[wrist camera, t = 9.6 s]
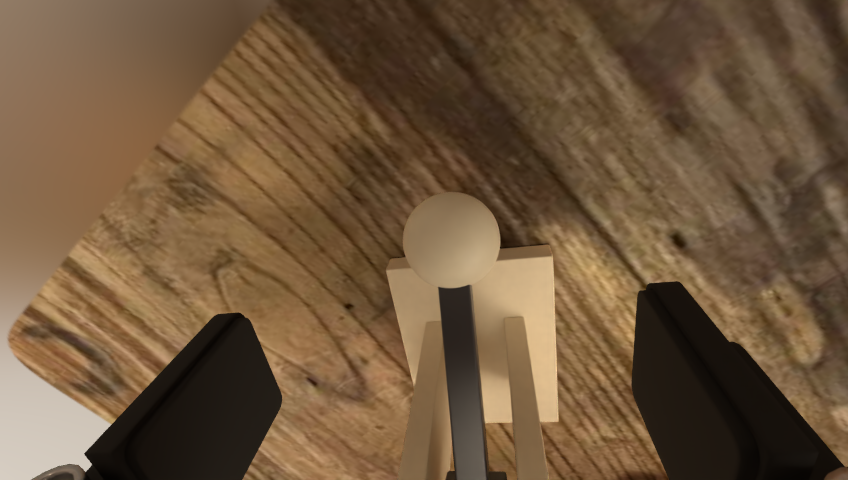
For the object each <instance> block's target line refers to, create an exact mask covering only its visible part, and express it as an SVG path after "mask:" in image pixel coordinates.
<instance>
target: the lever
mask: <svg viewBox="0 0 848 480" xmlns="http://www.w3.org/2000/svg"><path fill="white" fill-rule="evenodd" d="M403 248H404V253H405V257H406V259H407V261H408V263H409V265H410V267H411V268H412V269H413V271H414V272H415V273H416V274H417V275H418V276H419V277H420V278H421V279H422V280H424V281H425V282H427V283H429V284H431V285H433V286H435V287H438V292H439V303H440V314H441V325H442V336H443V347H444V358H445V369H446V380H447V391H448V402H449V413H450V424H451V435H452V446H453V457H454V468H455V471H448V472H447V475H446V480H507V476H506V473H505V472H495V471H489V461H488V451H487V440H486V429H485V418H484V408H483V397H482V386H481V376H480V365H479V354H478V344H477V333H476V322H475V312H474V301H473V290H472V284H474V283H476V282H478V281H479V280H481V279H482V278H483V277H485V275H486V274H487V273H488V272H489V271H490V270H491V268H492V267H493V265H494V264H495V262H496V259H497V257H498V254H499V250H500V232H499V227H498V224H497V222H496V219H495V217H494V216H493V214H492V213H491V211H490V210H489V209H488V208H487V207H486V206H485V205H484V204H483V203H482V202H480V201H479V200H478V199H476V198H474V197H472V196H470V195H467V194H464V193H459V192H444V193H439V194H436V195H433V196H431V197H429V198H427V199H426V200H424V201H423V202H421V203H420V204H419V205H418V206H417V207H416V208H415V209H414V210H413V211H412V213H411V214H410V216H409V218H408V220H407V222H406V225H405V228H404V232H403Z"/></svg>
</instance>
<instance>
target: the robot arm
mask: <svg viewBox="0 0 848 480" xmlns="http://www.w3.org/2000/svg"><path fill="white" fill-rule="evenodd" d="M632 391H633V395H634V399H635V401H636V404H637V406H638V408H639V411H640V413H641V415H642V418H643V420H644V422H645V425H646V427H647V429H648V432H649V434H650V436H651V439H652V441H653V443H654V445H655V448H656V450H657V452H658V455H659V457H660V459H661V462H662V464H663V466H664V469H665V471H666V473H667V476H668V478H669V480H848V467H844V465H843V464H842V463H841V462H840V461H839V460H838V458H837V457H836V456H835V455H834V454H833V453H832V451H831V450H830V449H829V448H828V447H827V445H826V444H825V443H824V442H823V441H822V440H821V438H820V437H819V436H818V435H817V434H816V433H815V431H814V430H813V429H812V428H811V427H810V425H809V424H808V423H807V422H806V421H805V420H804V418H803V417H802V416H801V415H800V414H799V413H798V411H797V410H796V409H795V408H794V407H793V405H792V404H791V403H790V402H789V401H788V400H787V398H786V397H785V396H784V395H783V394H782V393H781V391H780V390H779V389H778V388H777V387H776V385H775V384H774V383H773V382H772V381H771V380H770V378H769V377H768V376H767V375H766V374H765V373H764V371H763V370H762V369H761V368H760V367H759V365H758V364H757V363H756V362H755V361H754V360H753V358H752V357H751V356H750V355H749V354H748V353H747V351H746V350H745V349H744V348H743V347H742V346H741V345H739V344H737V343H735V342H729V341H728V340H727V339H726V338H725V336H724V335H723V334H722V333H721V331H720V330H719V329H718V328H717V327H716V325H715V324H714V323H713V322H712V320H711V319H710V318H709V317H708V316H707V314H706V313H705V312H704V311H703V309H702V308H701V307H700V306H699V305H698V303H697V302H696V301H695V300H694V298H693V297H692V296H691V295H690V294H689V292H688V291H687V290H686V289H685V287H684V286H683V285H682V284H681V283H680V282H677V281H676V282H662V283H649V284H648V285H647V288H646V290H644V291H639V293H638V297H637V311H636V325H635V340H634V355H633V369H632ZM281 404H282V395H281V392H280V389H279V387H278V385H277V382H276V380H275V378H274V375H273V373H272V370H271V368H270V366H269V363H268V361H267V359H266V356H265V354H264V352H263V349H262V347H261V345H260V342H259V340H258V338H257V335H256V333H255V331H254V328H253V326H252V324H251V322H250V320H249V319H248V318H245V317H244V315H242V314H241V313H226V314H218V315H215V316H214V317H213V318H212V319H211V320H210V321H209V322H208V323H207V324H206V325H205V326H204V327H203V328H202V329H201V331H200V332H199V333H198V334H197V335H196V336H195V337H194V338H193V339H192V340H191V341H190V342H189V343H188V344H187V345H186V346H185V347H184V349H183V350H182V351H181V352H180V353H179V354H178V355H177V356H176V357H175V358H174V359H173V360H172V361H171V362H170V363H169V364H168V365H167V367H166V368H165V369H164V370H163V371H162V372H161V373H160V374H159V375H158V376H157V377H156V378H155V379H154V380H153V381H152V382H151V383H150V385H149V386H148V387H147V388H146V389H145V390H144V391H143V392H142V393H141V394H140V395H139V396H138V397H137V398H136V399H135V400H134V401H133V403H132V404H131V405H130V406H129V407H128V408H127V409H126V410H125V411H124V412H123V413H122V414H121V415H120V416H119V417H118V418H117V419H116V421H115V422H114V423H113V424H112V425H111V426H110V427H109V428H108V429H107V430H106V431H105V432H104V433H103V434H102V435H101V436H100V437H99V439H98V440H97V441H96V442H95V443H94V444H93V445H92V446H91V447H90V448H89V449H88V450H87V451H86V452H85V453H84V454H85V456H86V457H87V458H88V460H90V462H91V463H92V466H91V467H90V468H89V469H88V470H87V471H86V472H85V471H84V470H83V469H82V468H81V467H80V466H79V465H73V464H67V465H63V466H58V467H56V468H53V469H51V470H48V471H46V472H44V473H42V474H40V475H39V476H37V477H35V478H33V479H32V480H242V479H243V477H244V475H245V473H246V471H247V470H248V468H249V466H250V464H251V462H252V460H253V458H254V456H255V455H256V453H257V451H258V449H259V447H260V445H261V443H262V441H263V440H264V438H265V436H266V434H267V432H268V430H269V428H270V426H271V425H272V423H273V421H274V419H275V417H276V415H277V413H278V411H279V410H280V407H281Z"/></svg>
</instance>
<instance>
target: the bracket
mask: <svg viewBox="0 0 848 480" xmlns="http://www.w3.org/2000/svg"><path fill="white" fill-rule="evenodd" d="M386 274H387V278H388V282H389V286H390V290H391V294H392V298H393V303H394V307H395V311H396V315H397V319H398V323H399V327H400V332H401V336H402V340H403V344H404V348H405V352H406V356H407V361H408V365H409V369H410V373H411V377H412V381H413V385H414V392H413V397H412V403H411V408H410V414H409V419H408V425H407V430H406V435H405V441H404V446H403V452H402V457H401V463H400V468H399V474H398V479H397V480H446V475H447V472H448V471H450V462H451V448H452V435H451V424H450V413H449V402H448V391H447V380H446V369H445V358H444V347H443V336H442V325H441V314H440V303H439V292H438V287H435V286H433V285H431V284H429V283H427V282H425V281H424V280H422V279H421V278H420V277H419V276H418V275H417V274H416V273H415V272H414V271H413V269H412V268H411V267H410V265H409V263H408V261H407V259H406V257H403V258H392V259H390V261H389V263H388V266H387V268H386ZM472 290H473V301H474V312H475V322H476V333H477V344H478V354H479V365H480V376H481V386H482V397H483V408H484V418H485V423H513V434H514V446H515V457H516V469H517V480H549V475H548V468H547V462H546V456H545V449H544V443H543V436H542V430H541V423H540V422H558V390H557V360H556V330H555V300H554V270H553V255H552V252H551V249H550V246H549V245H538V246H527V247H516V248H504V249H500V250H499V254H498V257H497V259H496V262H495V264H494V265H493V267H492V268H491V270H490V271H489V272H488V273H487V274H486V275H485V277H483V278H482V279H481V280H479V281H478V282H476V283H474V284H472Z"/></svg>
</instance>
